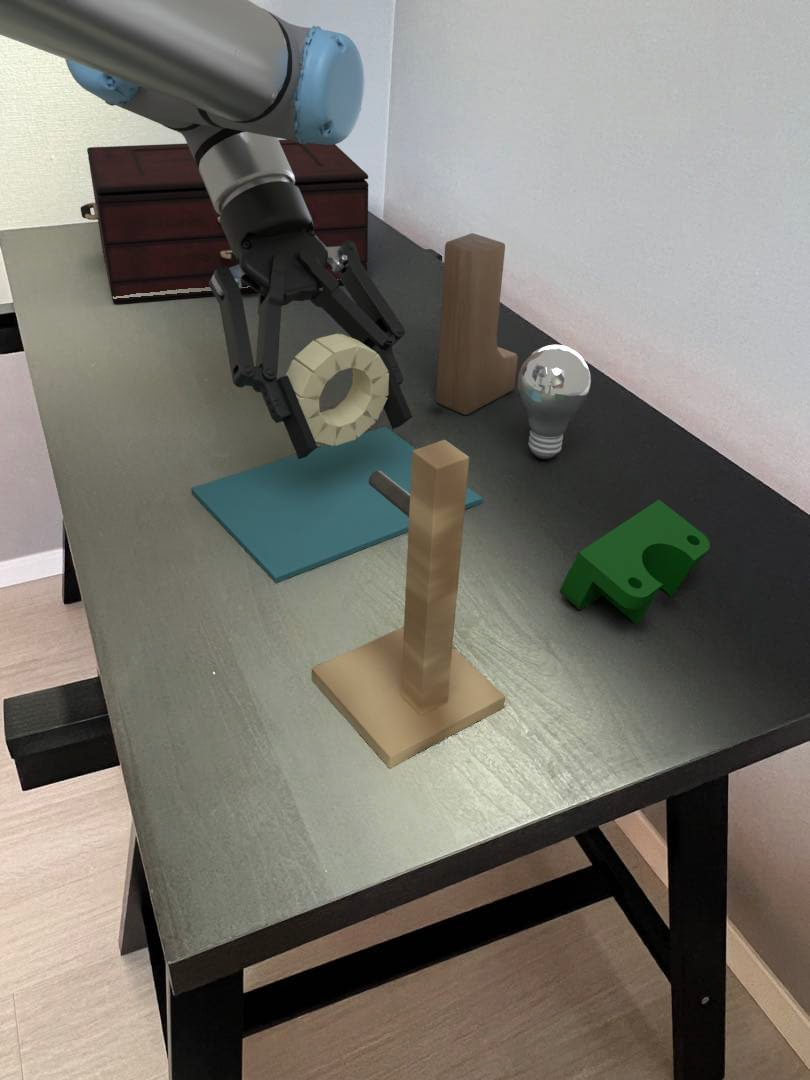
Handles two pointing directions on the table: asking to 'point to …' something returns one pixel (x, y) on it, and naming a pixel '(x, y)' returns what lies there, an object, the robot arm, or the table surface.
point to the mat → (315, 503)
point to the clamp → (636, 561)
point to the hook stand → (417, 627)
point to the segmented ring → (362, 397)
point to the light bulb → (552, 395)
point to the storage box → (203, 214)
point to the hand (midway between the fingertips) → (356, 437)
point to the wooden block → (472, 326)
